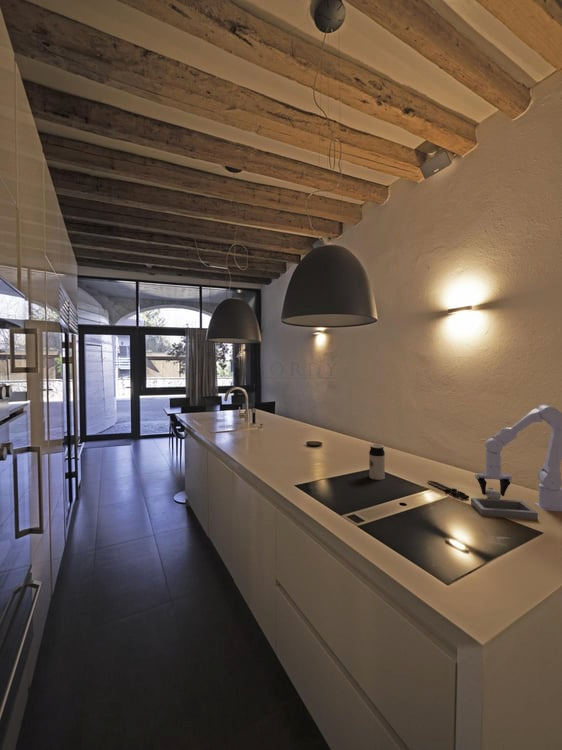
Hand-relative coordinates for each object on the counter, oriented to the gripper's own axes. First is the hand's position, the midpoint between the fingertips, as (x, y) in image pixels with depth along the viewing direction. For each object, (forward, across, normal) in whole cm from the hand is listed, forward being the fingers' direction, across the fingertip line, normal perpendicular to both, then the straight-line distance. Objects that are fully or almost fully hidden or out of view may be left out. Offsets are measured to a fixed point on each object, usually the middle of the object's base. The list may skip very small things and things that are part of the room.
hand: (493, 494), depth 153 cm
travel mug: (+2, +49, -21) cm, 53 cm away
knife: (+4, +21, -4) cm, 22 cm away
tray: (+2, +2, +14) cm, 14 cm away
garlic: (+2, 0, 0) cm, 2 cm away
